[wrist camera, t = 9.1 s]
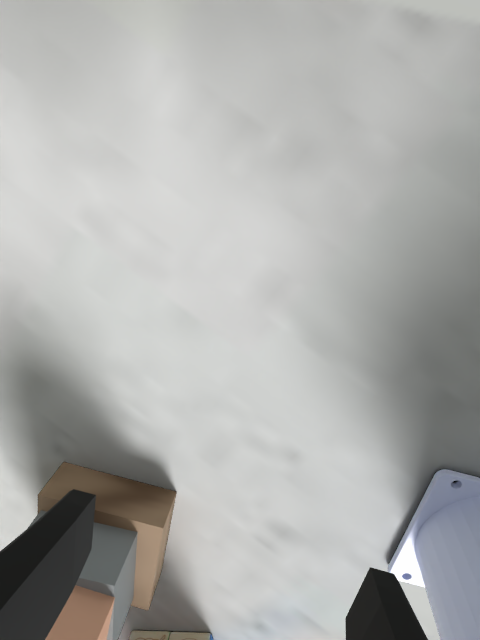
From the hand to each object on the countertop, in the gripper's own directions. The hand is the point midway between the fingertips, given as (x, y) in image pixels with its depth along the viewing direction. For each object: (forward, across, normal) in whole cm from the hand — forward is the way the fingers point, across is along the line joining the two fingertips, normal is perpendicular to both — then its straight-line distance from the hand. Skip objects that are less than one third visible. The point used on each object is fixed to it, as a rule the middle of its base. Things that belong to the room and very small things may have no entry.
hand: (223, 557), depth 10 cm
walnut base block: (+11, +6, +13) cm, 18 cm away
